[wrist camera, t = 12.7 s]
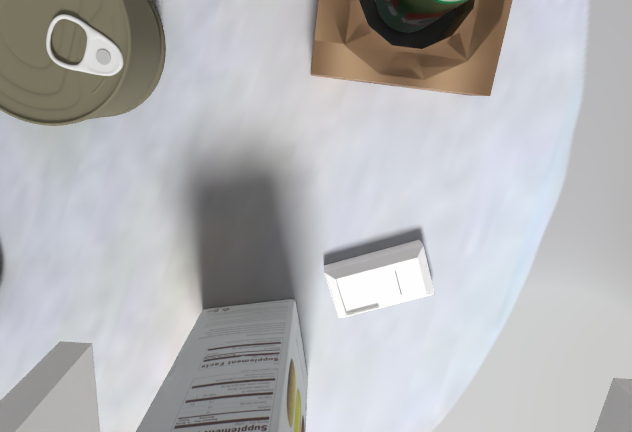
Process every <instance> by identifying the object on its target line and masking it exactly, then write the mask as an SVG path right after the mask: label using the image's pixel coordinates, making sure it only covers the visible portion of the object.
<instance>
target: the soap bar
mask: <svg viewBox="0 0 632 432" xmlns="http://www.w3.org/2000/svg"><path fill="white" fill-rule="evenodd" d="M324 273H325V276H326V280H327V283H328V286H329V289H330V292H331V295H332V298H333V301H334V305H335V308H336V311H337V314H338V317H339V319H340V318H344V317H347V316H351V315H355V314H359V313H363V312H367V311H371V310H375V309H379V308H383V307H386V306H390V305H394V304H398V303H402V302H406V301H410V300H414V299H418V298H422V297H425V296H429V295H433V294H435V293H434V288H433V284H432V280H431V276H430V272H429V267H428V263H427V259H426V255H425V250H424V246H423V244H422V243H421V241H420V240H415V241H412V242H408V243H404V244H401V245H397V246H393V247H390V248H386V249H382V250H379V251H375V252H371V253H368V254H364V255H360V256H357V257H353V258H349V259H346V260H342V261H338V262H335V263H331V264H327V265H324Z"/></svg>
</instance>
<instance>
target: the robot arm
mask: <svg viewBox="0 0 632 432" xmlns="http://www.w3.org/2000/svg"><path fill="white" fill-rule="evenodd" d="M0 432H100V427H99V416H98V404H97V393H96V382H95V371H94V360H93V348H92V344H90V343H75V342H59V343H58V344H57V345H56V346H55V347H54V348H53V349H52V350H51V351H50V352H49V353H48V354H47V355H46V356H45V357H44V358H43V359H42V360H41V361H40V362H39V363H38V364H37V365H36V366H35V367H34V368H33V369H32V370H31V371H30V372H29V373H28V374H27V375H26V376H25V377H24V378H23V379H22V380H21V381H20V382H19V383H18V384H17V385H16V386H15V387H14V388H13V389H12V390H11V391H10V392H9V393H8V394H7V395H6V396H5V397H4V398H3V399H2V400H1V401H0ZM594 432H632V379H618V378H613V381H612V384H611V386H610V389H609V392H608V395H607V398H606V400H605V403H604V406H603V409H602V412H601V414H600V417H599V420H598V423H597V426H596V428H595V431H594Z"/></svg>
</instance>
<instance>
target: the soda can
mask: <svg viewBox="0 0 632 432" xmlns="http://www.w3.org/2000/svg"><path fill="white" fill-rule="evenodd" d="M466 1H468V0H376V6H377V10H378V13H379V15H380V17H381V18H382V20H383V21H384V22H385V23H386V24H387V25H388V26H389V27H391V28H392V29H394V30H397V31H400V32H415V31H418V30H420V29H422V28H424V27H426V26H427V25H429V24H431V23H432V22H434V21H435V20H437V19H439V18H440V17H442V16H444V15H445V14H447V13H448V12H450V11H452V10H453V9H455V8H457V7H458V6H460V5H461V4H463V3H465V2H466Z"/></svg>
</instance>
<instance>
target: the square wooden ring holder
mask: <svg viewBox="0 0 632 432" xmlns="http://www.w3.org/2000/svg"><path fill="white" fill-rule="evenodd" d="M511 4H512V0H468V1H466V2H465V3H463V4H461V5H460V6H458V7H457V8H456V13H455V19H454V20H453V21H452V23H451V24H450V25H449V26H448V28H447V29H446V30H445V32H444V33H443V34H442V35H441V37H440V38H439V39H438V41H437V42H436V43H434V44H432V45H430V46H427V47H425V48H423V49H417V48H409V47H402V46H394V45H391V44H390V43H389V42H388V41H386V40H385V39H384V38H383V37H382V36H380V35H379V34H378V33H377V32H376V31H374V30H373V29H372V28H371V27H370V26H368V24H367V21H366V18H365V15H364V12H363V10H362V7H361V4H360V1H359V0H318V9H317V18H316V28H315V37H314V46H313V55H312V65H311V76H319V77H327V78H335V79H343V80H351V81H359V82H367V83H375V84H383V85H391V86H399V87H407V88H415V89H423V90H431V91H439V92H447V93H455V94H463V95H475V96H490V94H491V90H492V85H493V81H494V77H495V73H496V68H497V64H498V60H499V55H500V51H501V47H502V43H503V38H504V34H505V30H506V26H507V21H508V17H509V13H510V8H511Z"/></svg>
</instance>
